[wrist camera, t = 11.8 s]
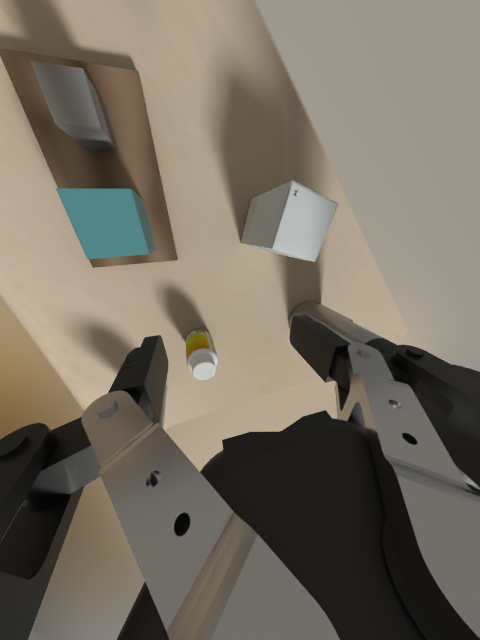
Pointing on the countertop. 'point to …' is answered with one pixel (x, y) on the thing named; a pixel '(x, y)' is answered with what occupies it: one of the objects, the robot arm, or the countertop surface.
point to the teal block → (109, 222)
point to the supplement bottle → (201, 354)
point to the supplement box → (289, 221)
